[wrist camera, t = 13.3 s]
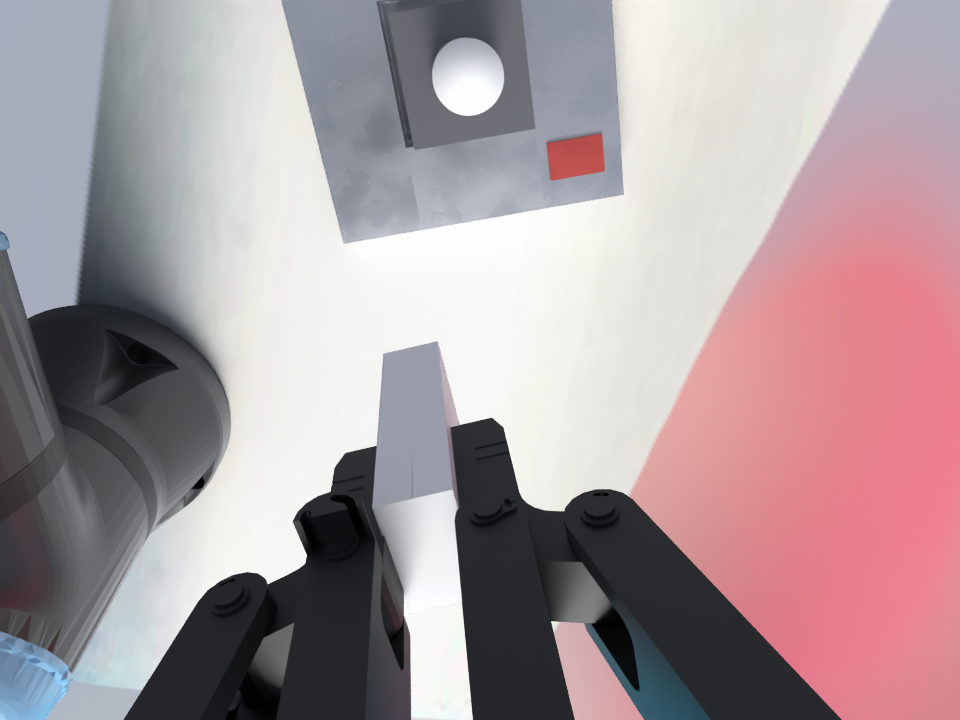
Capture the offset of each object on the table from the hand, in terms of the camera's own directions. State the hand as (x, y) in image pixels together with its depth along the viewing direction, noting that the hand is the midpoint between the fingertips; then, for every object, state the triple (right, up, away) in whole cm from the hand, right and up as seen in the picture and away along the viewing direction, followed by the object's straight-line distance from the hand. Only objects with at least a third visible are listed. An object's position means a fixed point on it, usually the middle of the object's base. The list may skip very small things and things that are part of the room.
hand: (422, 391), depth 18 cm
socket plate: (0, +17, +18) cm, 25 cm away
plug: (0, +17, +18) cm, 24 cm away
